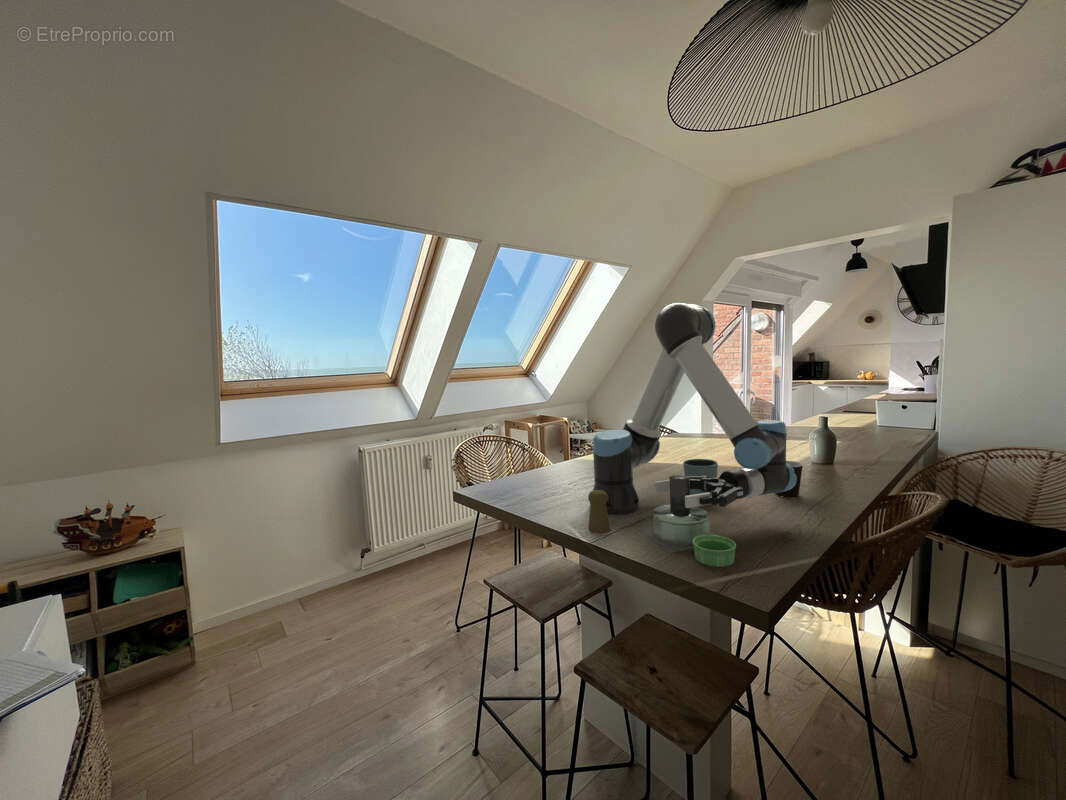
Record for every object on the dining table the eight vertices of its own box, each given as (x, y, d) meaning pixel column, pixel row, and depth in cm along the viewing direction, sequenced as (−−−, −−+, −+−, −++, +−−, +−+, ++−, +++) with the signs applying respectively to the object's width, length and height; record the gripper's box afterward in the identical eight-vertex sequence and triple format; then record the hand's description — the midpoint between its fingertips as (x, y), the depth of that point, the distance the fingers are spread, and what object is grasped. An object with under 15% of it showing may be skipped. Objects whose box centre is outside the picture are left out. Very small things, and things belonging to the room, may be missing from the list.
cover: (644, 529, 118) (642, 474, 117) (687, 522, 122) (686, 468, 120) (673, 549, 106) (671, 487, 104) (720, 540, 109) (719, 480, 108)
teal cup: (725, 502, 138) (724, 463, 137) (696, 506, 136) (695, 467, 135) (705, 493, 148) (704, 457, 147) (677, 496, 146) (676, 460, 145)
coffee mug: (807, 499, 137) (807, 466, 136) (776, 498, 139) (776, 467, 138) (793, 488, 148) (793, 458, 148) (765, 487, 150) (764, 458, 149)
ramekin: (687, 553, 105) (687, 535, 104) (726, 551, 104) (726, 533, 104) (700, 571, 96) (700, 551, 95) (743, 570, 95) (743, 550, 95)
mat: (636, 531, 119) (636, 528, 119) (688, 522, 124) (688, 519, 124) (671, 555, 104) (671, 552, 104) (729, 543, 108) (729, 541, 108)
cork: (585, 527, 123) (584, 488, 122) (607, 526, 124) (606, 487, 123) (590, 536, 117) (588, 495, 116) (613, 534, 118) (611, 493, 117)
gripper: (778, 512, 106) (701, 525, 100) (709, 485, 130) (644, 495, 124) (778, 481, 105) (701, 493, 100) (708, 460, 129) (643, 468, 123)
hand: (669, 494), depth 112 cm, fingers open, 13 cm apart
